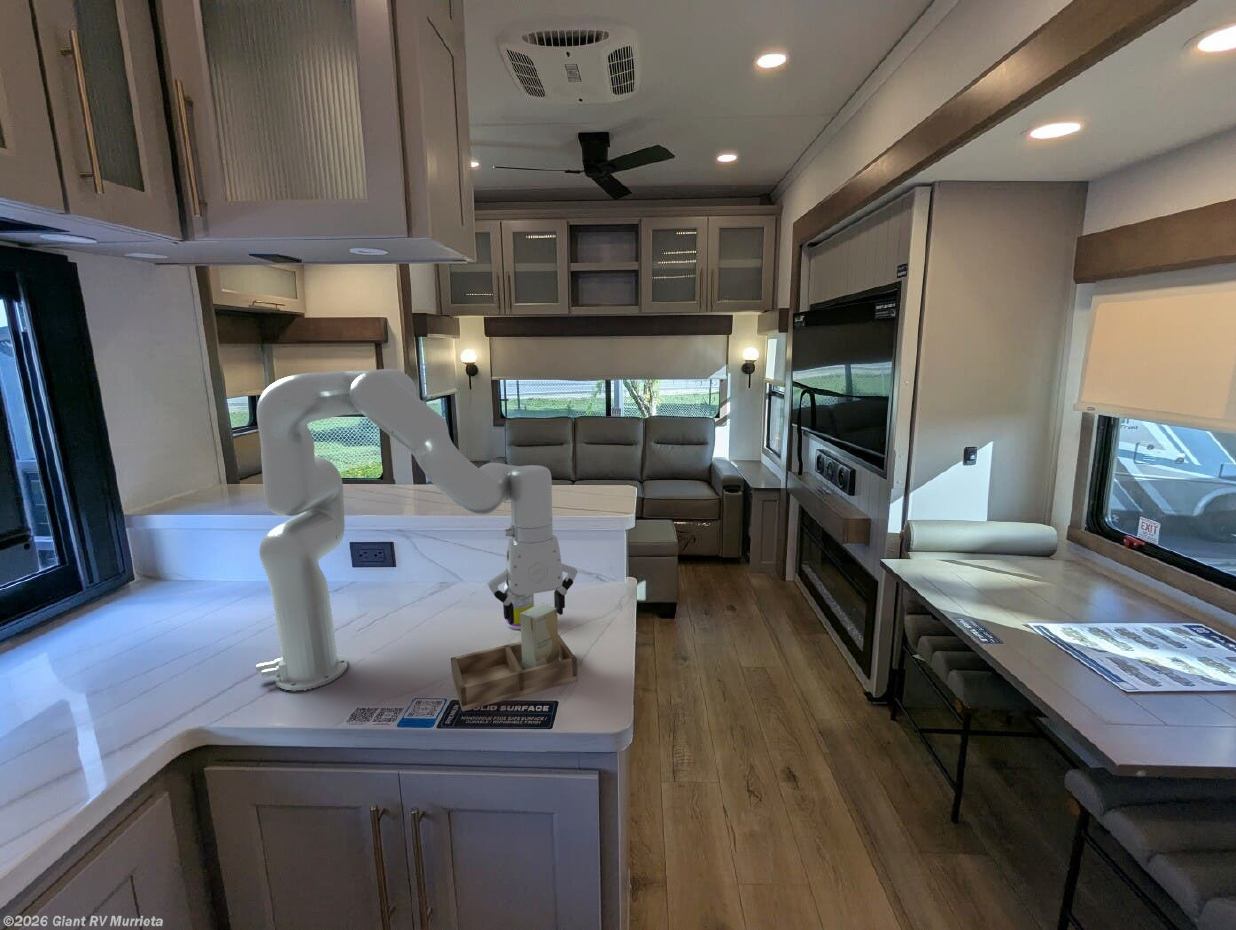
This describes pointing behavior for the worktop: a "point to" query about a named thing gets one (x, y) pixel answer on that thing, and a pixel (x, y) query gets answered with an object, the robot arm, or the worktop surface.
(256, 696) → the worktop surface
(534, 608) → the skincare box
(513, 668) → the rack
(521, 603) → the supplement bottle
